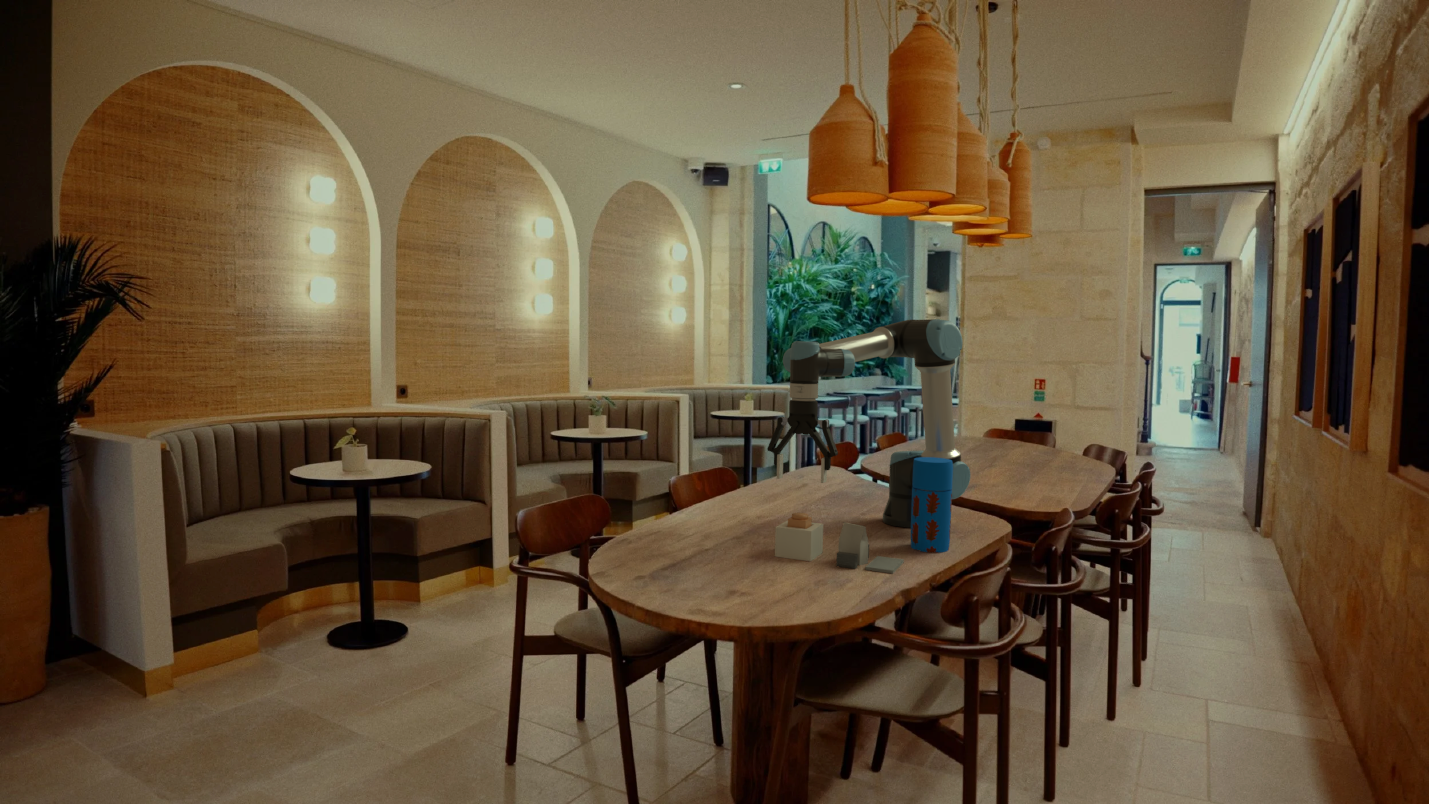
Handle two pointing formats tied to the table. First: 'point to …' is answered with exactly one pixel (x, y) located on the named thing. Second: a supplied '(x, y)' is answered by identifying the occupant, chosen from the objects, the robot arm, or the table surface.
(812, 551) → the housing
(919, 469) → the thermos
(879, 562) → the mat
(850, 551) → the tea bag
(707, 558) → the table surface
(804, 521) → the plunger
